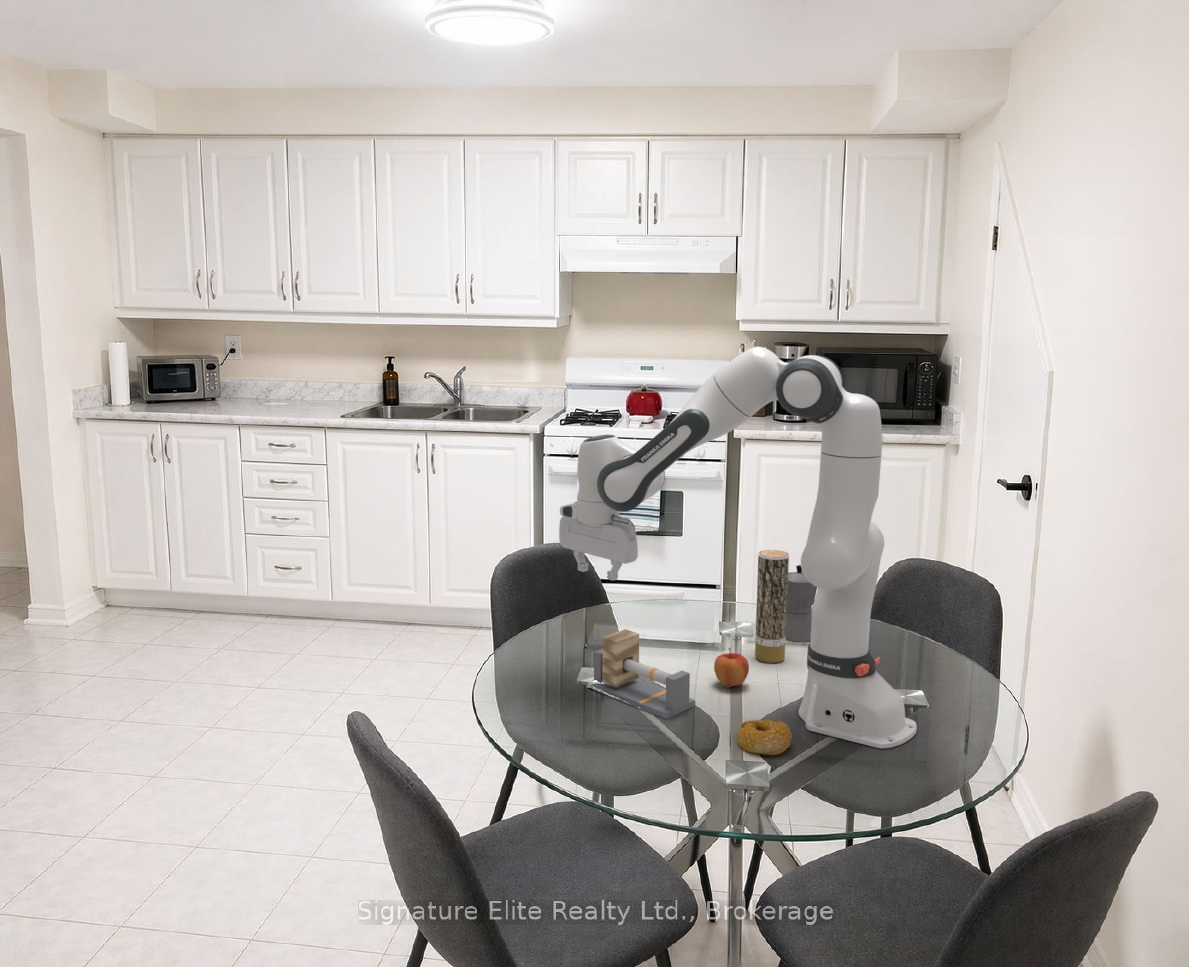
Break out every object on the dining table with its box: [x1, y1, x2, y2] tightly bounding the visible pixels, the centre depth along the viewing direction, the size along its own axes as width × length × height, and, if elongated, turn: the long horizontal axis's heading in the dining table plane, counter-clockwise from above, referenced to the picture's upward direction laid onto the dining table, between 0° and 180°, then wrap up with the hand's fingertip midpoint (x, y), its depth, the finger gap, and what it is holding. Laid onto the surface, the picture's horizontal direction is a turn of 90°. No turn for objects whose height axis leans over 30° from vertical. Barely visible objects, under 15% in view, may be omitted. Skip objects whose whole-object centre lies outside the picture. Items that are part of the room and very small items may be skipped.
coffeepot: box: [786, 564, 818, 643], centre depth 232 cm, size 15×9×18 cm, turn 70°
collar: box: [602, 628, 640, 688], centre depth 200 cm, size 4×7×10 cm, turn 136°
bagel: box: [736, 718, 793, 756], centre depth 176 cm, size 10×11×5 cm
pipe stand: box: [592, 648, 696, 720], centre depth 197 cm, size 22×9×8 cm, turn 46°
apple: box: [713, 647, 750, 689], centre depth 203 cm, size 7×7×8 cm
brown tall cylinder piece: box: [754, 549, 790, 664], centre depth 217 cm, size 7×7×25 cm
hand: (597, 575), depth 202 cm, fingers open, 7 cm apart
